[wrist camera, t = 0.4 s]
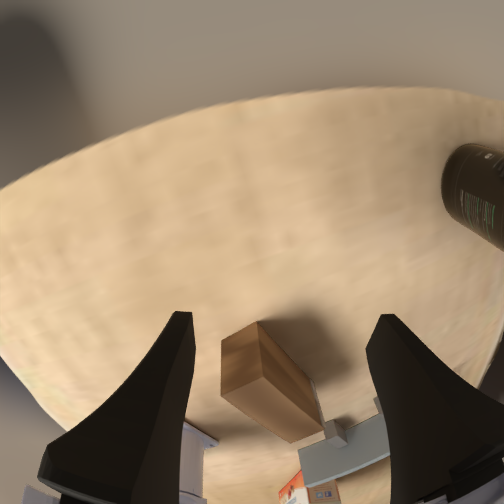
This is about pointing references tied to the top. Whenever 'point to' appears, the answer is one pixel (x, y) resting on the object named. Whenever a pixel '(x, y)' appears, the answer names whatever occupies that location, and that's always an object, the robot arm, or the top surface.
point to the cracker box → (309, 492)
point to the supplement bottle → (476, 191)
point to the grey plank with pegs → (345, 450)
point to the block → (269, 385)
